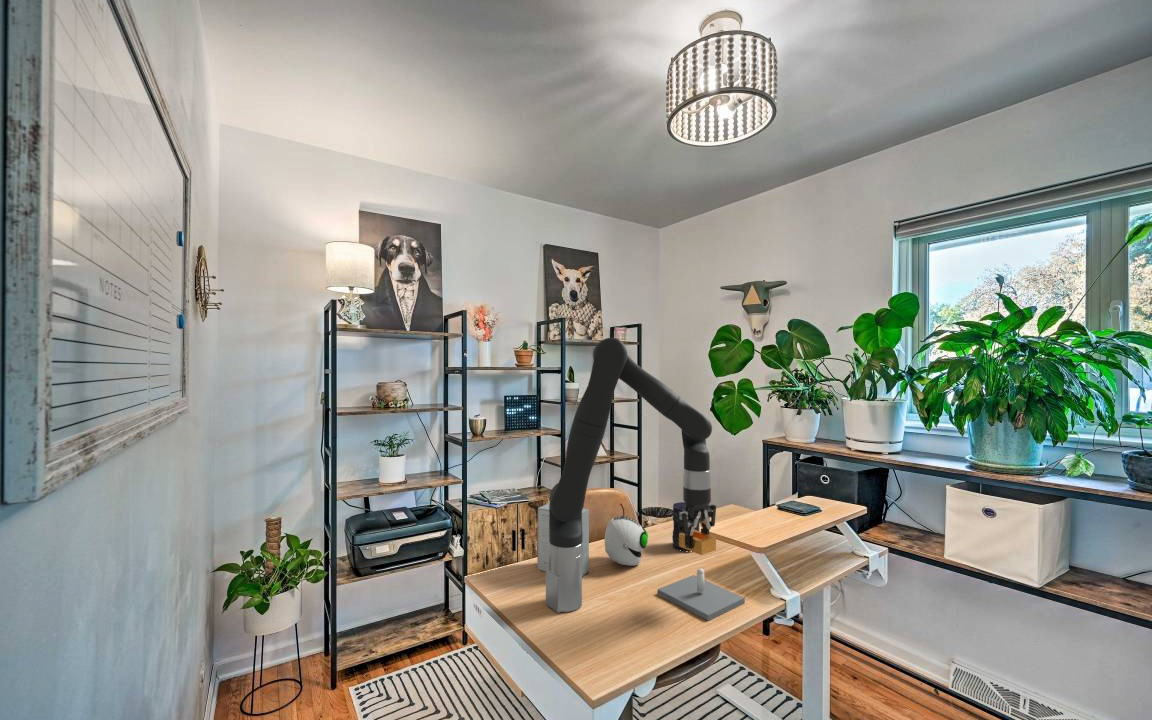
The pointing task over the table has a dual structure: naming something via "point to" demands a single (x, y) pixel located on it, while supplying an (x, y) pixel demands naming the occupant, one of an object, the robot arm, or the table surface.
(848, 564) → the table surface
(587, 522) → the hard drive box
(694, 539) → the open wooden box
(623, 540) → the robot head
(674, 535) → the storage jar
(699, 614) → the plate
